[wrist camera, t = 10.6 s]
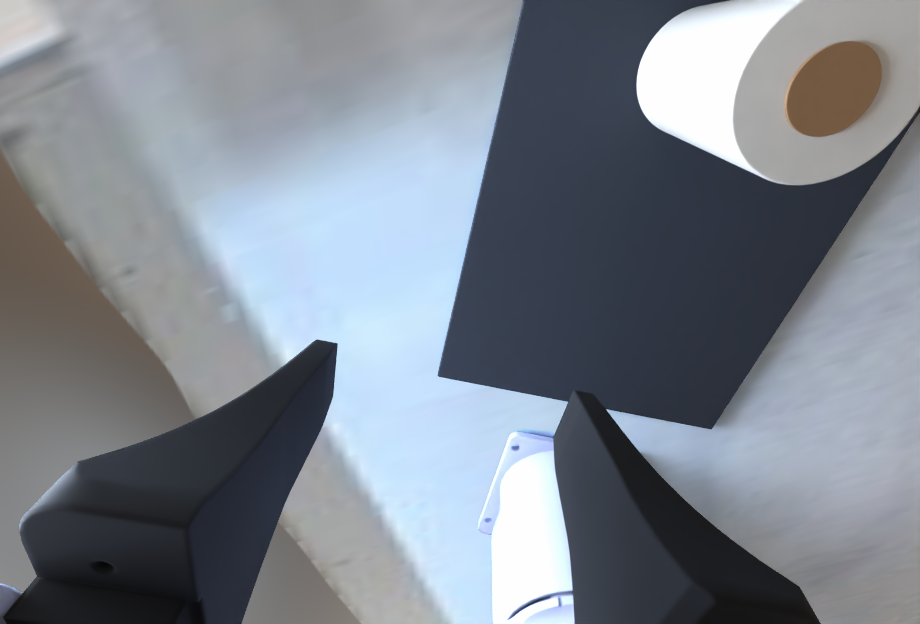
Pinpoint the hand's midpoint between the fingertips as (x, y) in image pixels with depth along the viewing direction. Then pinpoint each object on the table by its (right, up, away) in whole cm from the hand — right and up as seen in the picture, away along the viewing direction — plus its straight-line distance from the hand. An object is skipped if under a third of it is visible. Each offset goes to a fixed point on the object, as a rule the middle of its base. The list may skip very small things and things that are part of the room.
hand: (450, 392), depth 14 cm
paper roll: (+9, +8, +1) cm, 12 cm away
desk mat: (+9, +7, +7) cm, 13 cm away
